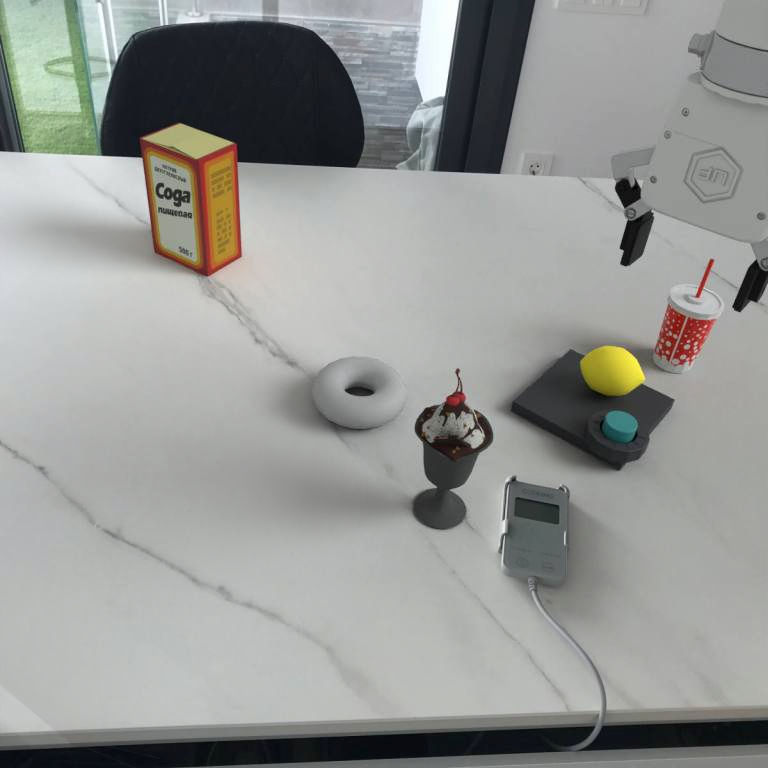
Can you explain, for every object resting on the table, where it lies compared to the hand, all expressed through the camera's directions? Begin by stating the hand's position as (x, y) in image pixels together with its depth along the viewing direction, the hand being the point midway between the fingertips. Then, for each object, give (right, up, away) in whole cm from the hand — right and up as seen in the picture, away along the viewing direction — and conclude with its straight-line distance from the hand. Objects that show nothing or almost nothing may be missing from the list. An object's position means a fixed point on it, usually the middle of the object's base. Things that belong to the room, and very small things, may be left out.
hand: (684, 281), depth 64 cm
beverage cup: (+10, -6, +29) cm, 31 cm away
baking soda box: (-50, +9, +39) cm, 64 cm away
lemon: (0, -9, +21) cm, 23 cm away
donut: (-28, -11, +19) cm, 35 cm away
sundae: (-20, -20, +8) cm, 29 cm away
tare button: (-1, -13, +14) cm, 19 cm away
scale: (-2, -11, +21) cm, 24 cm away
